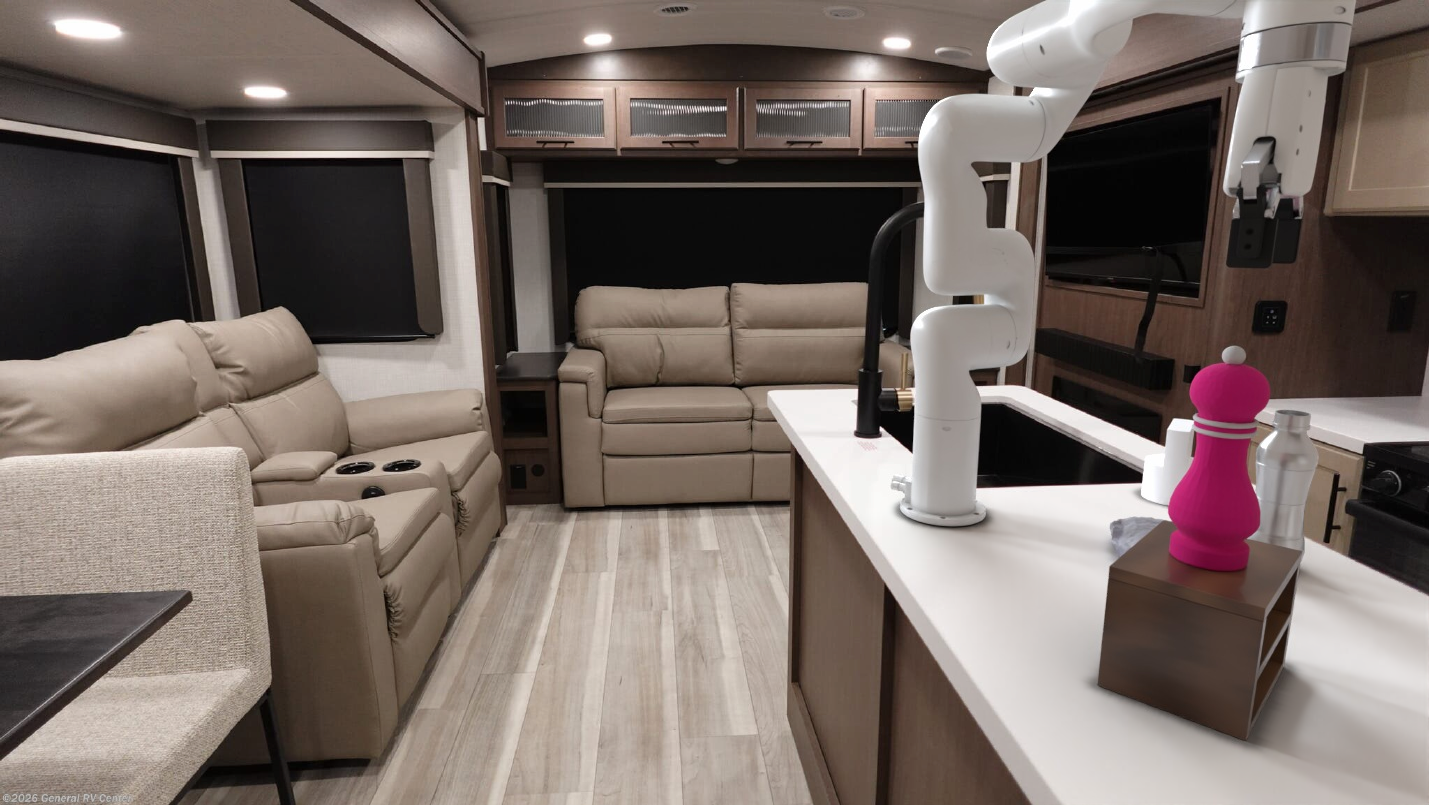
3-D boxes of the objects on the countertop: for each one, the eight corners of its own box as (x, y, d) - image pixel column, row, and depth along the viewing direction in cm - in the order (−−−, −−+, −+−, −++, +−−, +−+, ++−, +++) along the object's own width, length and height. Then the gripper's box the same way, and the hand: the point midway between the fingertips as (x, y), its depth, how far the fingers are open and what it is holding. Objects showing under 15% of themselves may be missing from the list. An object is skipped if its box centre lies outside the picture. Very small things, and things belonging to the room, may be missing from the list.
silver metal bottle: (1235, 566, 99) (1256, 414, 95) (1245, 550, 104) (1266, 404, 100) (1297, 581, 95) (1322, 422, 91) (1305, 564, 100) (1329, 412, 96)
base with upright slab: (1145, 485, 131) (1153, 415, 128) (1208, 495, 126) (1217, 422, 123) (1137, 500, 124) (1144, 427, 121) (1203, 511, 119) (1213, 435, 116)
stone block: (1127, 584, 99) (1215, 575, 96) (1122, 548, 98) (1210, 538, 96) (1102, 550, 110) (1180, 542, 108) (1097, 518, 109) (1175, 508, 107)
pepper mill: (1255, 581, 68) (1288, 354, 64) (1160, 563, 72) (1186, 348, 68) (1252, 552, 74) (1282, 343, 70) (1165, 537, 78) (1188, 338, 74)
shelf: (1097, 685, 74) (1109, 566, 72) (1151, 625, 85) (1163, 519, 83) (1245, 741, 66) (1265, 608, 63) (1284, 666, 77) (1302, 550, 74)
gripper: (1262, 77, 74) (1238, 260, 78) (1210, 50, 62) (1184, 268, 66) (1364, 64, 69) (1332, 262, 72) (1328, 33, 57) (1292, 271, 61)
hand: (1262, 265), depth 69 cm, fingers open, 9 cm apart
